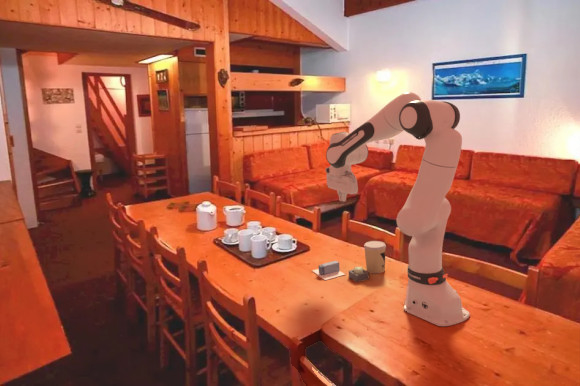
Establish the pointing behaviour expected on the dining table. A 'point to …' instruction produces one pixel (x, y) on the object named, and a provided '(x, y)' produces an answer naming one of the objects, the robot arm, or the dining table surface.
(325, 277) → the paper
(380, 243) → the coffee cup
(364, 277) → the button housing
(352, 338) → the dining table surface
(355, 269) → the button
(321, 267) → the grey rectangular block
